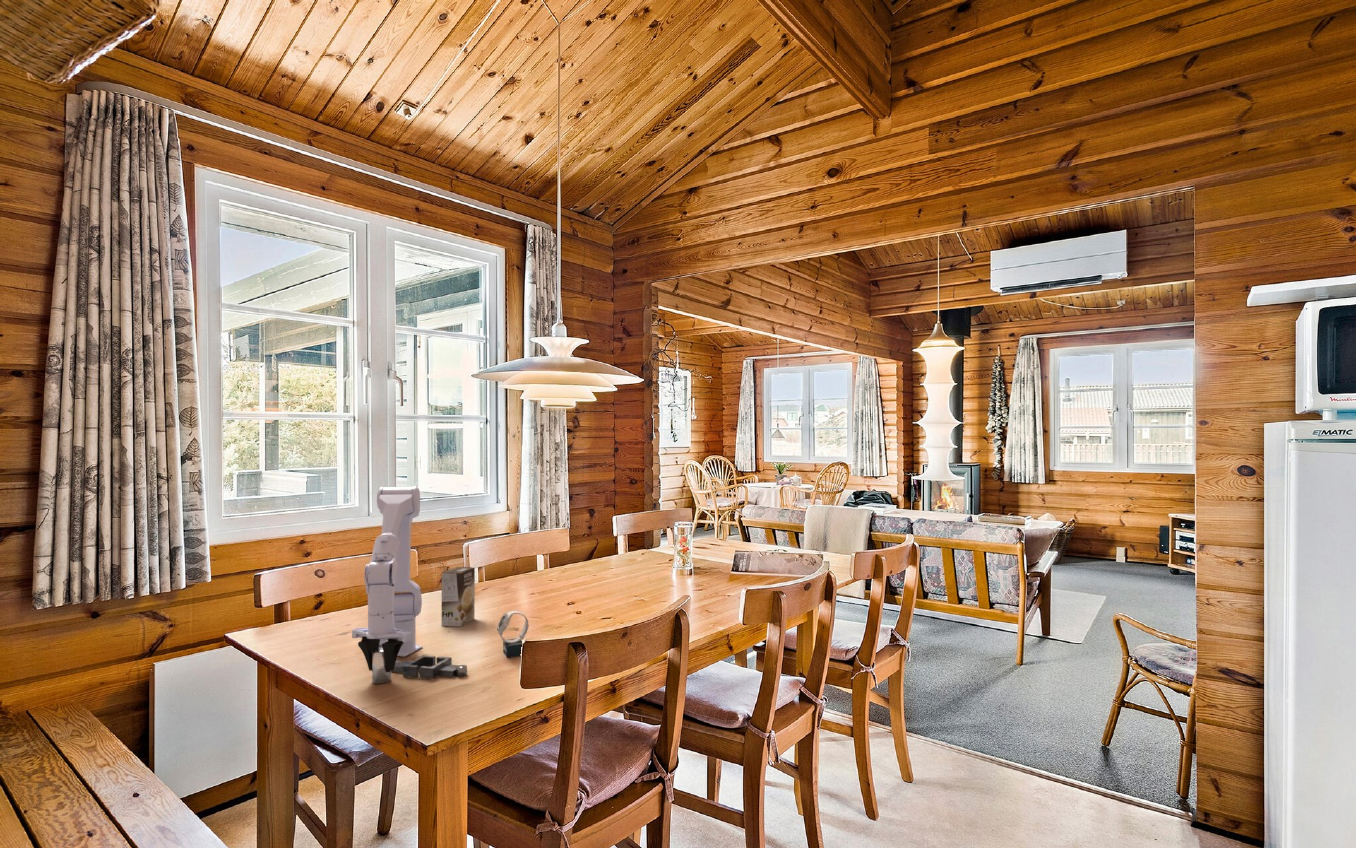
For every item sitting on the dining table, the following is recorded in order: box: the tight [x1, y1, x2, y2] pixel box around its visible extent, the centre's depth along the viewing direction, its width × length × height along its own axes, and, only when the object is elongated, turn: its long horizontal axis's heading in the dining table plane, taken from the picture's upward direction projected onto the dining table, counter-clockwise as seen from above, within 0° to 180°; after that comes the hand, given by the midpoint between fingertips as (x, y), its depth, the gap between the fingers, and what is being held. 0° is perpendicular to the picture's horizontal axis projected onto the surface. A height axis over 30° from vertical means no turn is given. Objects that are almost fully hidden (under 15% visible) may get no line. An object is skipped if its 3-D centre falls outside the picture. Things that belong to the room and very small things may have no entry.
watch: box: [496, 610, 530, 659], centre depth 182 cm, size 6×8×11 cm
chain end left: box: [391, 654, 437, 678], centre depth 170 cm, size 10×8×2 cm
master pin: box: [371, 648, 392, 685], centre depth 162 cm, size 4×4×7 cm
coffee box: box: [440, 566, 476, 627], centre depth 211 cm, size 9×6×16 cm
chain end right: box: [419, 656, 468, 680], centre depth 167 cm, size 10×8×2 cm
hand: (381, 670), depth 162 cm, fingers closed on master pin, 4 cm apart
